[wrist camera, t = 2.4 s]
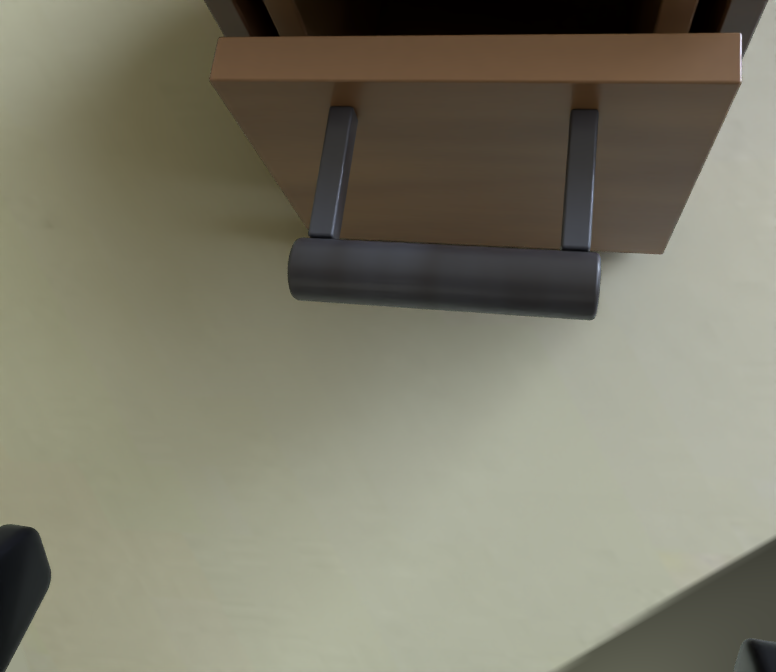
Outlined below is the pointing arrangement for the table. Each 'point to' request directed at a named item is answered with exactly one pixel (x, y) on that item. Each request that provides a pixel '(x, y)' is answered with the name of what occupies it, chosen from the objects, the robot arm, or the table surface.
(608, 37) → the drawer
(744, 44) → the cabinet
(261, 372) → the table surface
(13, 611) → the robot arm
